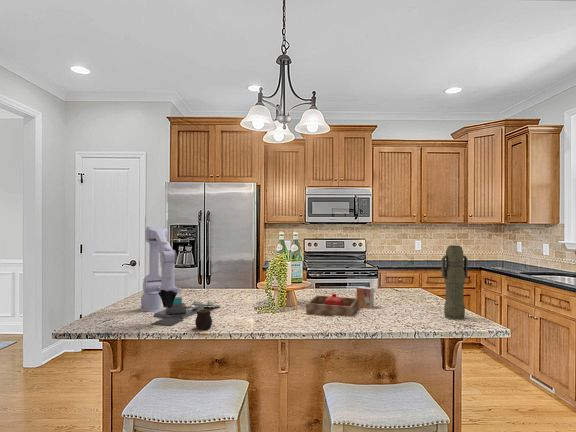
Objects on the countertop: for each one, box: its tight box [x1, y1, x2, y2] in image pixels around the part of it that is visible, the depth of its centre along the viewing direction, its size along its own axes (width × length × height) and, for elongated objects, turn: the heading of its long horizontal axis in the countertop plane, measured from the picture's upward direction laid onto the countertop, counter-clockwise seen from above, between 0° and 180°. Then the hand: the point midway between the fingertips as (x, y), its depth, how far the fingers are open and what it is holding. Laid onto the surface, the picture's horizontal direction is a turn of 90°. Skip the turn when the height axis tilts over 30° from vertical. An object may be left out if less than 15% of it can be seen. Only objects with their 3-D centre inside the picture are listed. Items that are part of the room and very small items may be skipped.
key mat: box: [150, 318, 184, 327], centre depth 173 cm, size 10×10×1 cm
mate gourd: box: [194, 306, 214, 331], centre depth 163 cm, size 7×8×10 cm
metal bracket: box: [189, 300, 222, 311], centre depth 198 cm, size 14×6×15 cm
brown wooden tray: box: [305, 295, 360, 317], centre depth 197 cm, size 23×21×5 cm
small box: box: [355, 286, 375, 309], centre depth 205 cm, size 8×6×10 cm
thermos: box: [441, 244, 469, 321], centre depth 180 cm, size 9×12×35 cm
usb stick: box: [173, 296, 184, 306], centre depth 186 cm, size 6×2×7 cm, turn 112°
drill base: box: [153, 309, 197, 320], centre depth 187 cm, size 16×12×2 cm
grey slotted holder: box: [164, 302, 200, 314], centre depth 188 cm, size 16×9×3 cm, turn 112°
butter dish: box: [324, 293, 344, 306], centre depth 200 cm, size 12×12×8 cm
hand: (167, 307), depth 173 cm, fingers closed
